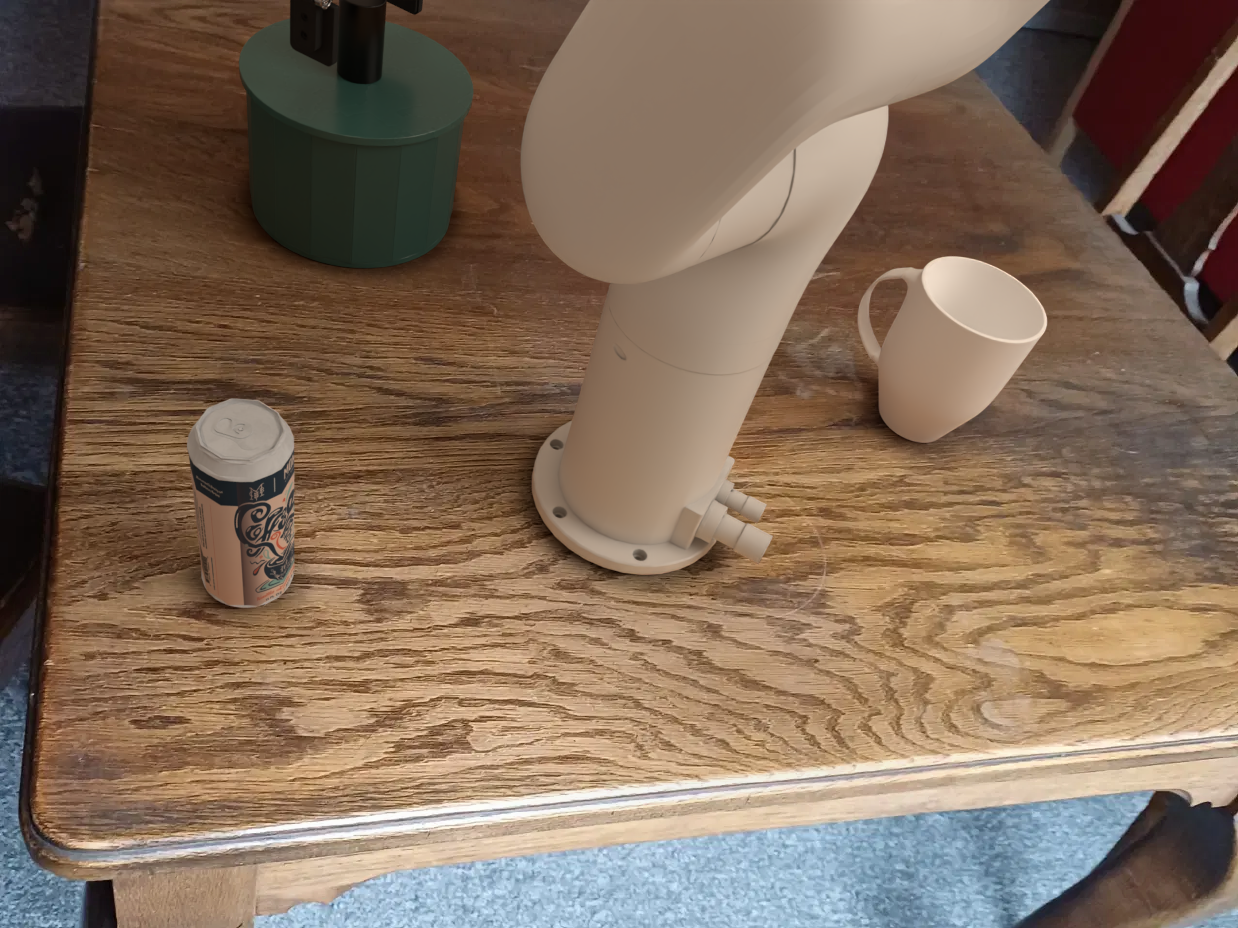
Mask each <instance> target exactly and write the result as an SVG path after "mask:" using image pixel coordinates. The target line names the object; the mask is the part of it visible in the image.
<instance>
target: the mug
mask: <svg viewBox="0 0 1238 928" xmlns="http://www.w3.org/2000/svg"><path fill="white" fill-rule="evenodd" d="M899 279H902V280H903V281H904V282H905V284H906V286H907V287H906V288H907V291H906V294H905V297H904V300H903V302H902V304H901V306H900V308H899V310H898V311H897V313H896V314H897V315H896V316H895V318H894V320H893V322H892V323H891V326H890V327H889V329H888V332H887V334H886V335H885V338H884V340H883V343H882V345H880V343H879V341H878V340H877V337H876V335H875V333H874V330H873V327H872V323H871V320H870V302H871V296H872V293H873V292H874V289H875V288H876V286H877V285H878V284H879V283H880V282H882V281H886V280H899ZM858 306H859V307H858V309H857V330H858V335H859V338H860V341H861V343H862V346H863V348H864V350H865V353H866V355H867V357H868V358H869V359H870V360H872V361H873V362H874V364H875V365H876V366H877V368H878V369H877V370H878V371H877V374H878V412H879V415H880V417H881V419H882V421H883V422H884V423H885V425H886V426H887V427H888V428H889V429H890V430H891V431H893V432H894V433H895V434H896V435H899V437H902V438H904V439H906V440H909V441H911V442H915V443H923V444H925V443H926V444H928V443H929V444H930V443H933V442H935V441H938V440H939V439H941V438H942V437H944V436H945V435H947V434H949V433H950V432H952V431H953V430H955V429H957V428H959V427H960V426H962V425H964V424H966V423H967V422H968V421H970V420H972V419H973V418H975V417H977V416H978V415H979V414H981V413H982V412H983V411H984V410H985V409H987V408H988V406H989V405H990V404H991V403H992V402H993V401H994V400H995V399H996V397H998V395H999V394H1000V392H1001V391H1002V390H1003V389H1004V388H1005V386H1006V385H1007V384H1008V382H1009V381H1010V380H1011V378H1013V375H1014V374H1015V373H1016V372H1017V370H1018V369H1019V368H1020V366H1021V365H1022V363H1023V362H1024V360H1025V359H1026V358H1027V357H1028V355H1029V353H1030V352H1032V350H1033V348H1034V347H1035V346H1036V344H1037V343H1038V341H1039V340H1040V339H1041V338H1042V336H1043V335H1044V333H1045V332H1046V330H1047V326H1048V317H1047V314H1046V310H1045V308H1044V306H1043V304H1042V303H1041V301H1040V300H1039V298H1038V297H1037V296H1036V295H1035V294H1034V293H1033V291H1032V290H1031V289H1030V288H1028V287H1027V286H1026V285H1025V284H1024V283H1022V282H1021V281H1020V280H1018V279H1017V278H1016V277H1014V276H1013V275H1011V274H1010V273H1008V272H1006V271H1004V270H1002V269H1000V268H998V267H997V266H994V265H992V264H990V263H987V262H985V261H982V260H978V259H974V258H971V257H965V256H956V255H955V256H954V255H953V256H952V255H949V256H942V257H941V256H940V257H938V258H934V259H933V260H931V261H929V262H928V263H927V264H926V265H925V266H924V267H923V268H914V267H912V266H910V267H897V268H893V269H889V270H888V271H885V272H884V273H883V274H881V275H880V276H879V277H878V278H876V279H875V280H874V281H873V282H872V283H871V284H870V285H869V287H868V288H867V289H866V291H865V292H864V294H863V295H862V296H861V299H860V302H859V305H858Z"/></svg>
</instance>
